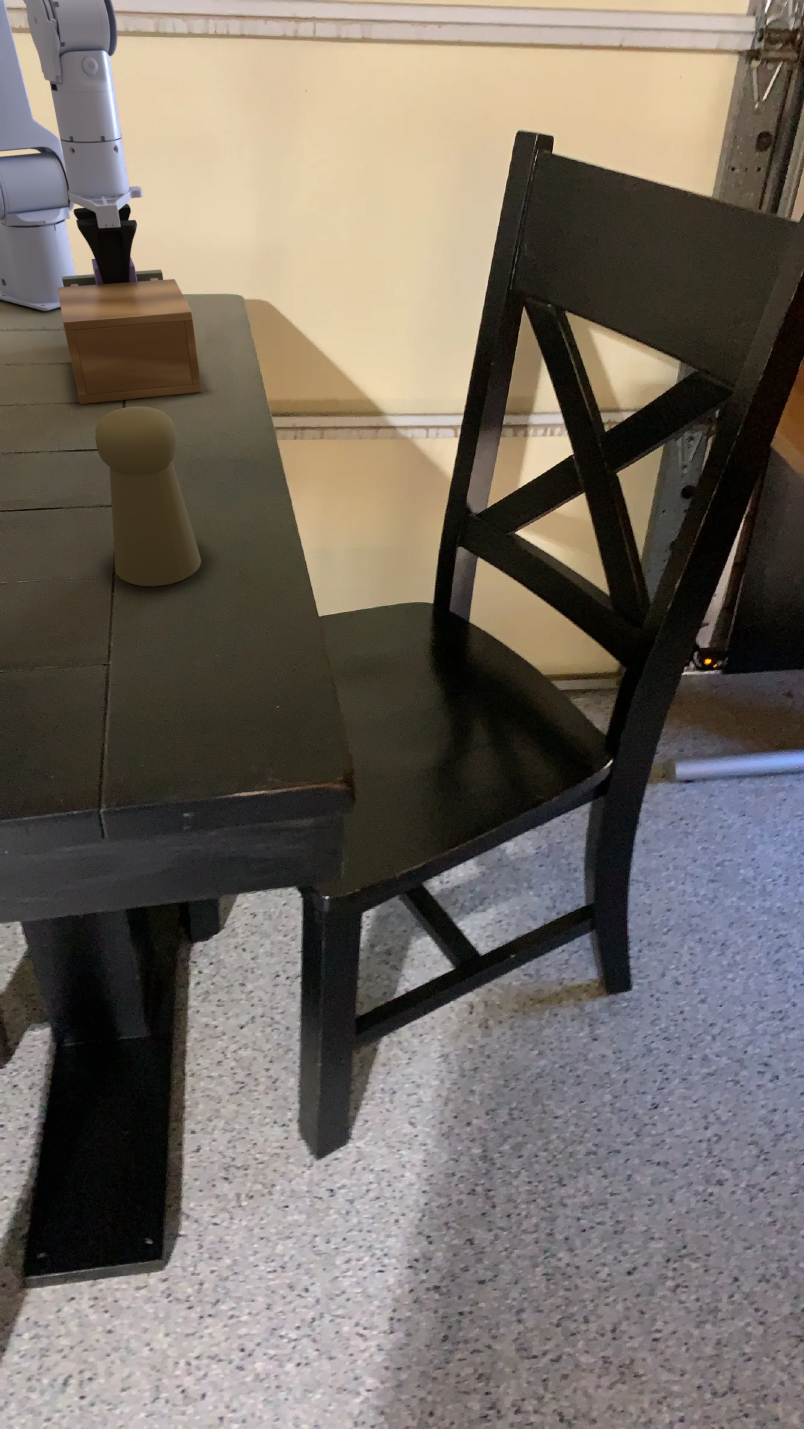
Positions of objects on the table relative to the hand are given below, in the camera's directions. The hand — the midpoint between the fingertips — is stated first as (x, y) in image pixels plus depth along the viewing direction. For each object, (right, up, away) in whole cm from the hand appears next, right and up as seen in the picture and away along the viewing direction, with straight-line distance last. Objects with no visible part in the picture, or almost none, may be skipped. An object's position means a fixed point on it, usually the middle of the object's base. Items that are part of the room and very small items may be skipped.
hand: (116, 289), depth 99 cm
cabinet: (+3, -10, -3) cm, 11 cm away
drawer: (0, -3, +4) cm, 5 cm away
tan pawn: (+12, -34, -31) cm, 48 cm away
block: (0, -1, +1) cm, 1 cm away
